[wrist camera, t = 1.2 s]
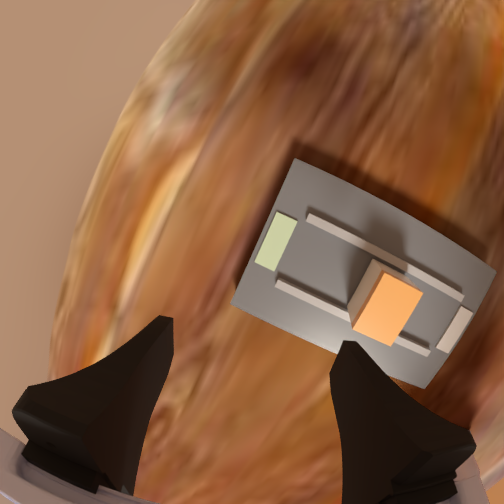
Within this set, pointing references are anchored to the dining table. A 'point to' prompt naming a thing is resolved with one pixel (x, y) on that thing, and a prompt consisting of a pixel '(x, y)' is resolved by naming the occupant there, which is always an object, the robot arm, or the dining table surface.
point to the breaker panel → (358, 273)
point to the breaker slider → (382, 303)
